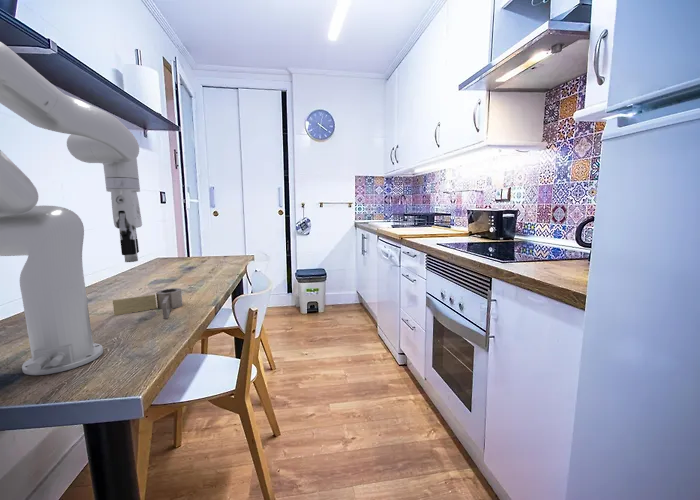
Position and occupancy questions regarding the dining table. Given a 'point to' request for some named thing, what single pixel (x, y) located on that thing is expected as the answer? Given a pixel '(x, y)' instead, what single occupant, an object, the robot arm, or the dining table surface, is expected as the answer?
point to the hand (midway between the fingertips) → (130, 253)
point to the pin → (134, 257)
